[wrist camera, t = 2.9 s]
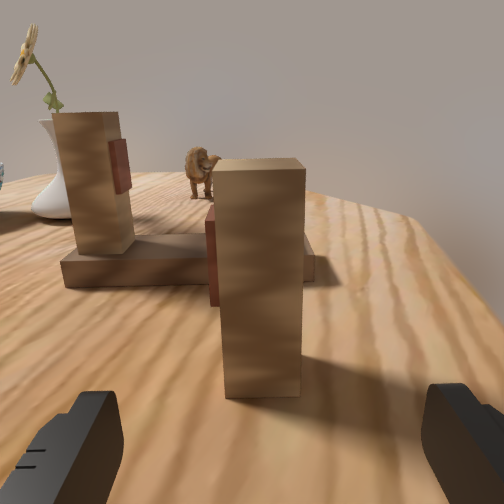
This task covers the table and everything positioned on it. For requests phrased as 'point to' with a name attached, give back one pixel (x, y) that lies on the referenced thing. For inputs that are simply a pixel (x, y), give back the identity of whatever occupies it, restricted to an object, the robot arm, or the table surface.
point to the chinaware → (1, 174)
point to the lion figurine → (200, 170)
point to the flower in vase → (54, 195)
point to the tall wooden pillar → (258, 273)
